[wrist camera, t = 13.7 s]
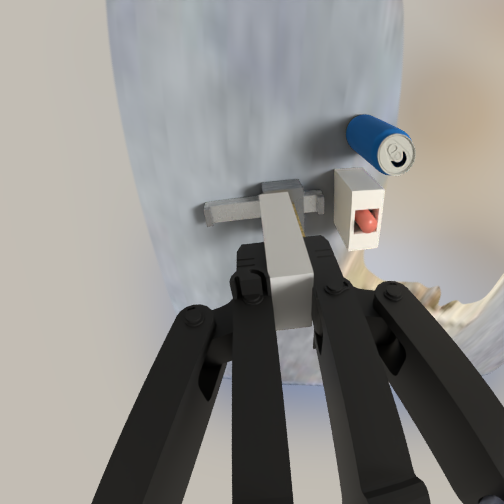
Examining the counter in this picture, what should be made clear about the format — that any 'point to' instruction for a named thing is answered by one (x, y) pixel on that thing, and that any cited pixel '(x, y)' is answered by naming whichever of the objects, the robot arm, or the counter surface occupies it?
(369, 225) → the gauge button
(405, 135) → the beverage can
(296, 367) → the counter surface
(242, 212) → the rail
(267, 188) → the carriage
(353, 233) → the end cabinet
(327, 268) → the robot arm
